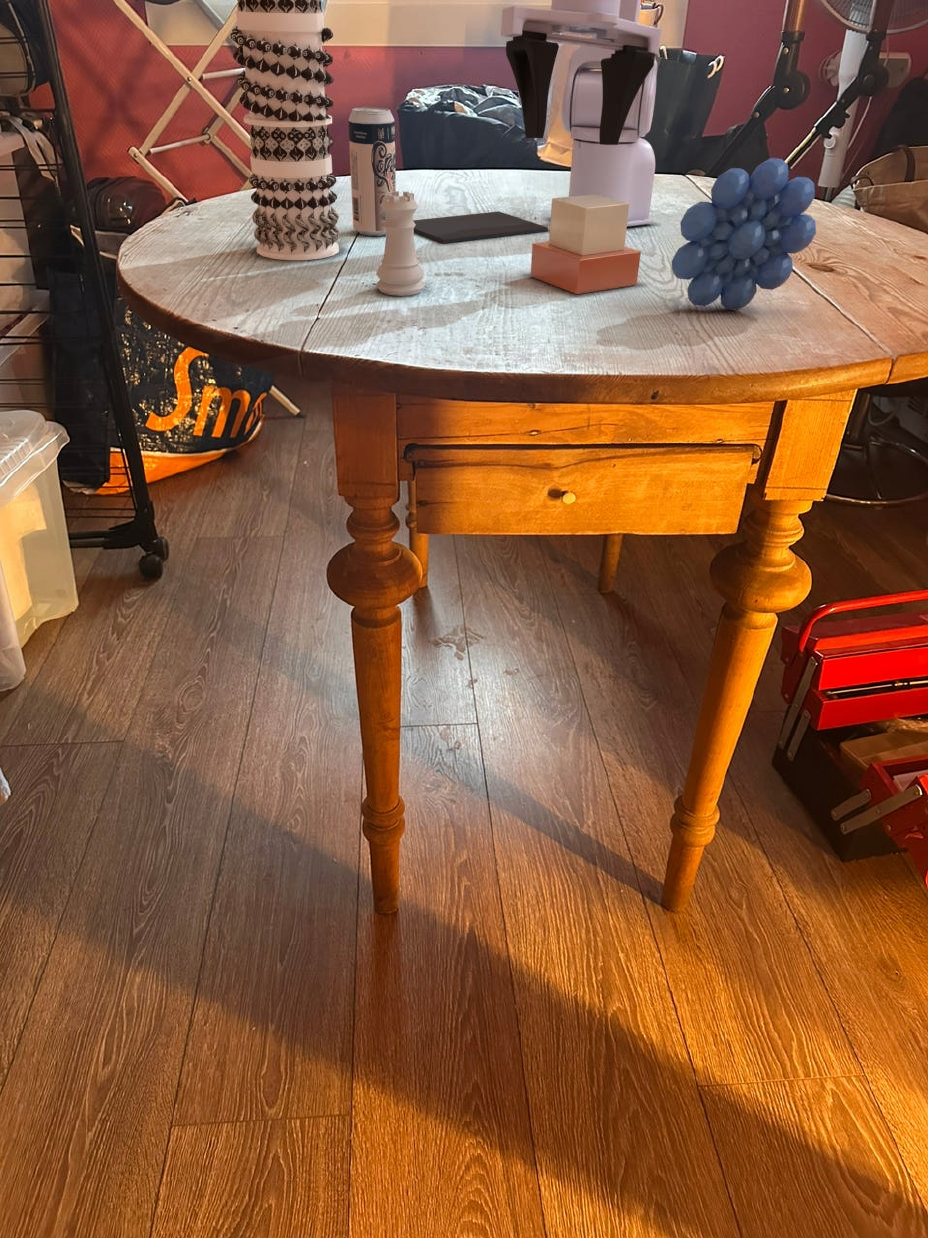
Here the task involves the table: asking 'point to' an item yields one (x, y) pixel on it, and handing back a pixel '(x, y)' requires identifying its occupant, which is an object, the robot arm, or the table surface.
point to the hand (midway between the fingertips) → (572, 141)
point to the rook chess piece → (399, 248)
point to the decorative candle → (288, 126)
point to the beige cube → (588, 224)
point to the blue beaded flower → (745, 234)
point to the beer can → (371, 167)
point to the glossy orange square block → (584, 268)
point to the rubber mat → (474, 227)
